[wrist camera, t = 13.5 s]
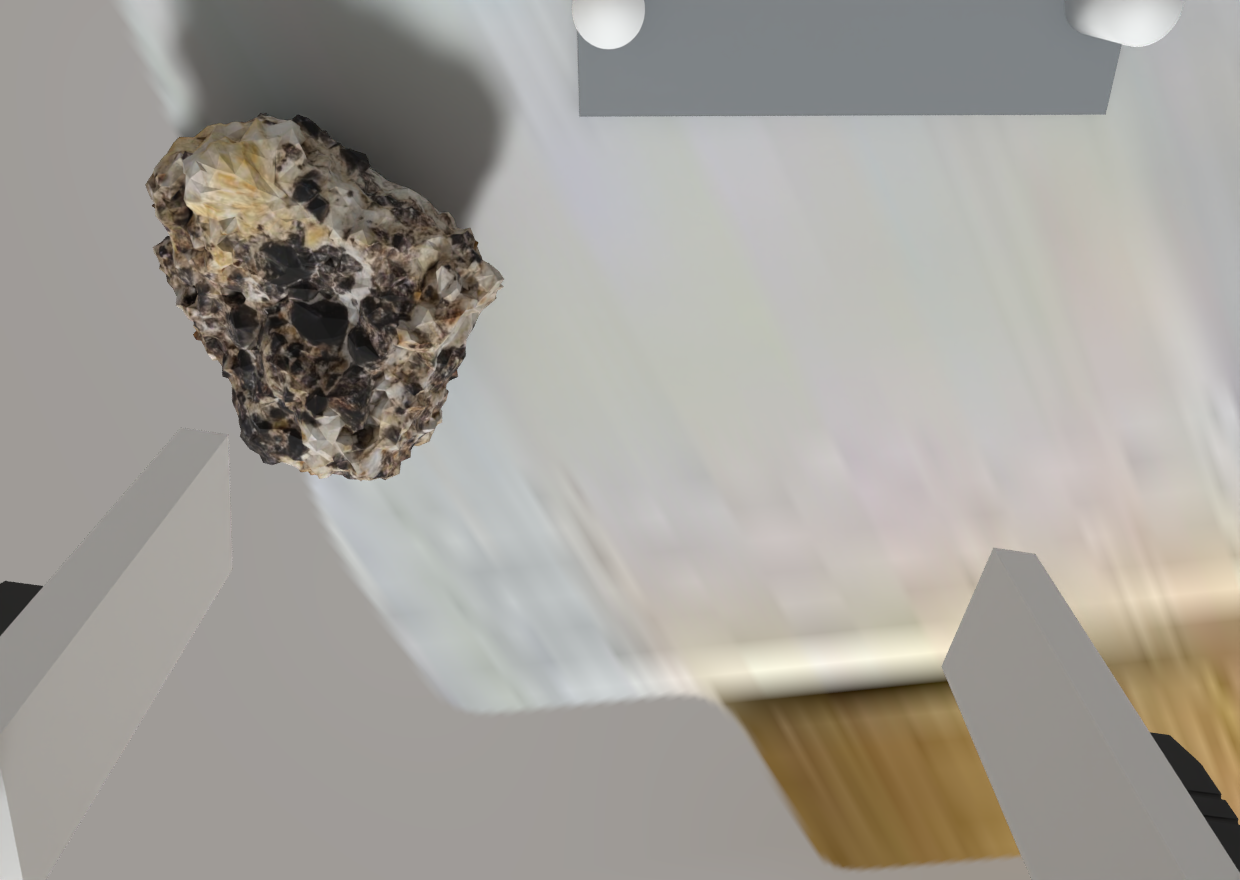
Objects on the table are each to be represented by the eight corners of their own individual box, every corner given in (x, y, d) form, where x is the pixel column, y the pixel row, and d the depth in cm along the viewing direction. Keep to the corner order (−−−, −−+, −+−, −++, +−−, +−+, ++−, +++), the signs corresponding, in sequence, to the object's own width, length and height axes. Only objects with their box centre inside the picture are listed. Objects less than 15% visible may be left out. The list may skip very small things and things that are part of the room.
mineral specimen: (341, 449, 56) (287, 550, 47) (126, 177, 48) (15, 236, 39) (573, 330, 52) (563, 414, 43) (381, 15, 44) (320, 40, 36)
